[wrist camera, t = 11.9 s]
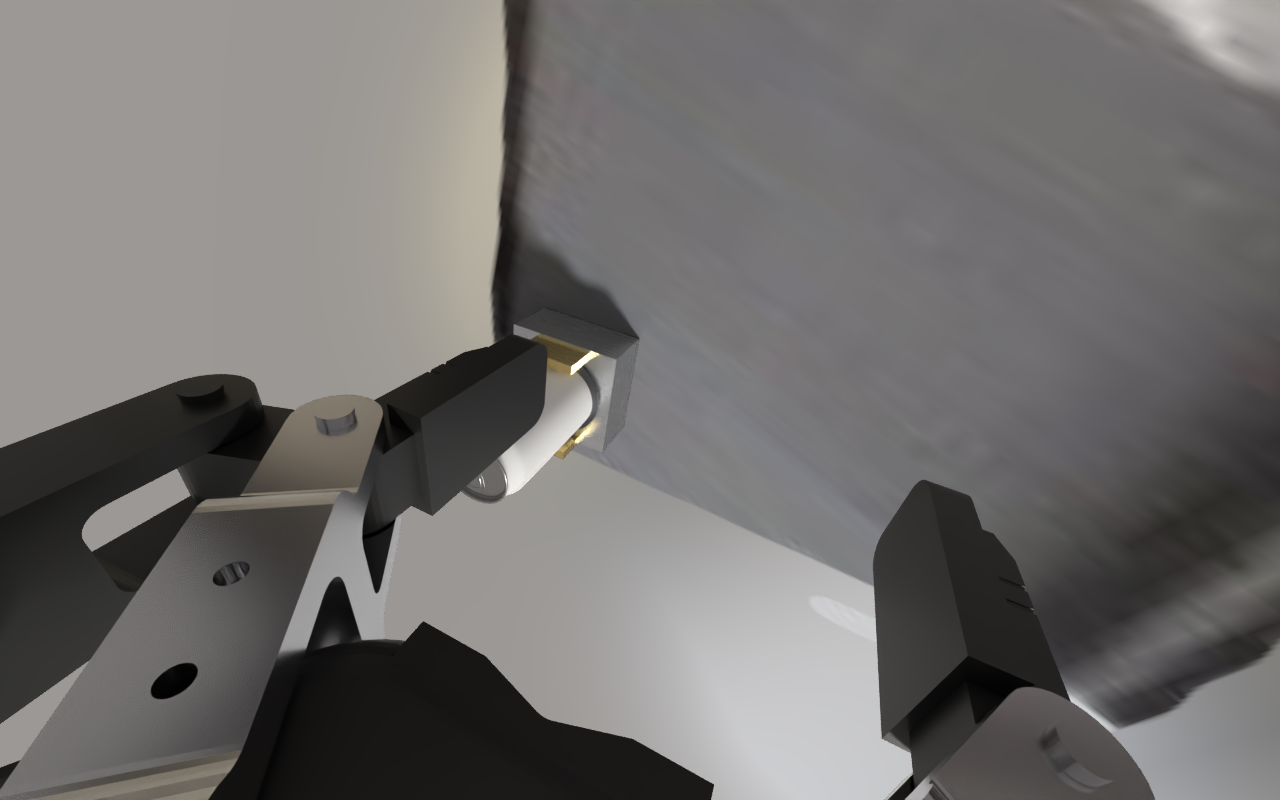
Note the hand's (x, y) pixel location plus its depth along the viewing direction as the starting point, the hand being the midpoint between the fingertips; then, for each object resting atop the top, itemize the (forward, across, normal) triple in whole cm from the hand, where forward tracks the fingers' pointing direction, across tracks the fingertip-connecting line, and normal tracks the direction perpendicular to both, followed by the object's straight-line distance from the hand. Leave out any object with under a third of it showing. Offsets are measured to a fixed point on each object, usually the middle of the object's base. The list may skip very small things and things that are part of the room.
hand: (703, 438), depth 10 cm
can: (+23, +16, +17) cm, 32 cm away
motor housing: (+28, +16, +17) cm, 37 cm away
